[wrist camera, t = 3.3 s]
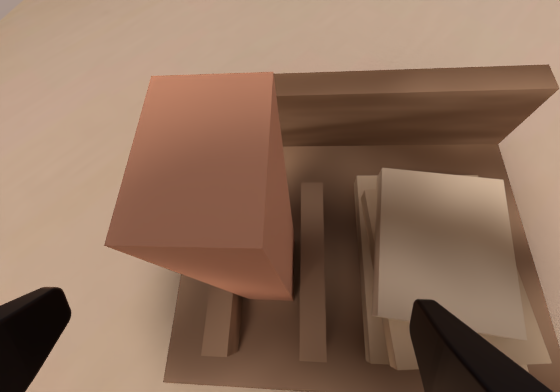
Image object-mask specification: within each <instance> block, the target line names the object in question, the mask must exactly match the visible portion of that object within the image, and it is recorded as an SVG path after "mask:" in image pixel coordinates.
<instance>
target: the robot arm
mask: <svg viewBox="0 0 560 392" xmlns="http://www.w3.org/2000/svg"><path fill="white" fill-rule="evenodd" d="M70 318H71V309H70V307H69V304H68V302H67V299H66V297H65V294H64V292H63V290H62V289H61V288H58V287H43V288H40V289H37V290H35V291H33V292H30V293H28V294H26V295H24V296H21V297H19V298H17V299H14V300H12V301H10V302H8V303H5V304H3V305H1V306H0V392H25V391H26V390H27V388H28V387H29V385H30V384H31V382H32V381H33V379H34V378H35V376H36V375H37V373H38V372H39V370H40V368H41V367H42V365H43V363H44V362H45V360H46V359H47V357H48V355H49V354H50V352H51V350H52V349H53V347H54V345H55V344H56V342H57V340H58V339H59V337H60V335H61V334H62V332H63V331H64V329H65V327H66V326H67V324H68V322H69V320H70ZM409 331H410V337H411V341H412V345H413V348H414V352H415V356H416V360H417V364H418V368H419V372H420V375H421V379H422V383H423V387H424V391H425V392H553V391H552V390H551V389H550V388H548V387H547V386H546V385H544V384H543V383H542V382H540V381H539V380H538V379H537V378H535V377H534V376H533V375H531V374H530V373H529V372H527V371H526V370H525V369H524V368H522V367H521V366H520V365H518V364H517V363H516V362H514V361H513V360H512V359H511V358H509V357H508V356H507V355H505V354H504V353H503V352H501V351H500V350H499V349H497V348H496V347H495V346H494V345H492V344H491V343H490V342H488V341H487V340H486V339H484V338H483V337H482V336H481V335H479V334H478V333H477V332H475V331H474V330H473V329H471V328H470V327H469V326H468V325H466V324H465V323H464V322H462V321H461V320H460V319H458V318H457V317H456V316H455V315H453V314H452V313H451V312H449V311H448V310H447V309H445V308H444V307H443V306H442V305H440V304H439V303H438V302H436V301H435V300H431V299H416V300H415V301H414V303H413V308H412V313H411V319H410V324H409Z"/></svg>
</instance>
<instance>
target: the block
mask: <svg viewBox="0 0 560 392" xmlns="http://www.w3.org/2000/svg"><path fill="white" fill-rule="evenodd" d="M104 246H107V247H110V248H112V249H115V250H118V251H120V252H123V253H126V254H129V255H131V256H134V257H137V258H139V259H142V260H145V261H147V262H150V263H153V264H156V265H158V266H161V267H164V268H166V269H169V270H172V271H175V272H177V273H180V274H183V275H185V276H188V277H191V278H193V279H196V280H199V281H202V282H204V283H207V284H210V285H212V286H215V287H218V288H220V289H223V290H226V291H229V292H231V293H234V294H237V295H239V296H242V297H245V298H248V299H256V300H284V301H294V252H295V238H294V230H293V222H292V215H291V207H290V199H289V191H288V183H287V175H286V168H285V160H284V152H283V144H282V136H281V128H280V121H279V113H278V105H277V97H276V89H275V82H274V74H273V72H257V73H228V74H199V75H170V76H151V79H150V83H149V86H148V90H147V94H146V97H145V101H144V104H143V108H142V112H141V115H140V119H139V122H138V126H137V130H136V133H135V137H134V140H133V144H132V148H131V151H130V155H129V158H128V162H127V166H126V169H125V173H124V176H123V180H122V184H121V187H120V191H119V194H118V198H117V201H116V205H115V209H114V212H113V216H112V219H111V223H110V227H109V230H108V234H107V237H106V241H105V245H104Z"/></svg>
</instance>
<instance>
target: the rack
mask: <svg viewBox="0 0 560 392" xmlns="http://www.w3.org/2000/svg"><path fill="white" fill-rule="evenodd" d="M274 82H275V89H276V97H277V105H278V113H279V121H280V128H281V136H282V144H283V152H284V160H285V168H286V175H287V183H288V191H289V199H290V207H291V215H292V222H293V230H294V238H295V252H294V301H284V300H256V299H248V298H245V297H242V296H239V295H237V294H234V293H231V292H229V291H226V290H223V289H220V288H218V287H215V286H212V285H210V284H207V283H204V282H202V281H199V280H196V279H193V278H191V277H188V276H185V275H183V274H181V279H180V285H179V291H178V297H177V303H176V309H175V315H174V321H173V327H172V333H171V339H170V345H169V351H168V357H167V363H166V369H165V375H164V381H163V382H165V383H181V384H197V385H214V386H230V387H246V388H262V389H278V390H294V391H310V392H425V391H424V387H423V383H422V379H421V375H420V372H419V368H418V364H417V360H416V356H415V352H414V348H413V345H412V341H411V337H410V331H409V324H410V319H411V313H412V308H413V303H414V301H415V300H416V299H431V300H435V301H436V302H438V303H439V304H440V305H442V306H443V307H444V308H445V309H447V310H448V311H449V312H451V313H452V314H453V315H455V316H456V317H457V318H458V319H460V320H461V321H462V322H464V323H465V324H466V325H468V326H469V327H470V328H471V329H473V330H474V331H475V332H477V333H478V334H479V335H481V336H482V337H483V338H484V339H486V340H487V341H488V342H490V343H491V344H492V345H494V346H495V347H496V348H497V349H499V350H500V351H501V352H503V353H504V354H505V355H507V356H508V357H509V358H511V359H512V360H513V361H514V362H516V363H517V364H518V365H520V366H521V367H522V368H524V369H525V370H526V371H527V372H529V373H530V374H531V375H533V376H534V377H535V378H537V379H538V380H539V381H540V382H542V383H543V384H544V385H546V386H547V387H548V388H550V389H551V390H552V391H553V392H560V348H559V344H558V341H557V338H556V334H555V331H554V328H553V324H552V321H551V318H550V315H549V311H548V308H547V305H546V301H545V298H544V295H543V291H542V288H541V285H540V281H539V278H538V275H537V271H536V268H535V265H534V262H533V258H532V255H531V252H530V248H529V245H528V242H527V238H526V235H525V232H524V228H523V225H522V222H521V218H520V215H519V212H518V209H517V205H516V202H515V199H514V195H513V192H512V189H511V185H510V182H509V179H508V175H507V172H506V169H505V165H504V162H503V159H502V156H501V152H500V149H499V146H498V144H499V143H500V142H501V141H502V140H503V139H504V138H505V137H506V136H508V135H509V134H510V133H511V132H512V131H513V130H514V129H515V128H516V127H517V126H519V125H520V124H521V123H522V122H523V121H524V120H525V119H526V118H527V117H528V116H530V115H531V114H532V113H533V112H534V111H535V110H536V109H537V108H538V107H539V106H541V105H542V104H543V103H544V102H545V101H546V100H547V99H548V98H549V97H550V96H552V95H553V94H554V93H555V92H556V91H557V90H558V89H559V87H558V84H557V82H556V80H555V77H554V75H553V73H552V71H551V68H550V66H549V65H524V66H494V67H464V68H434V69H405V70H375V71H345V72H315V73H285V74H274Z"/></svg>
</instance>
